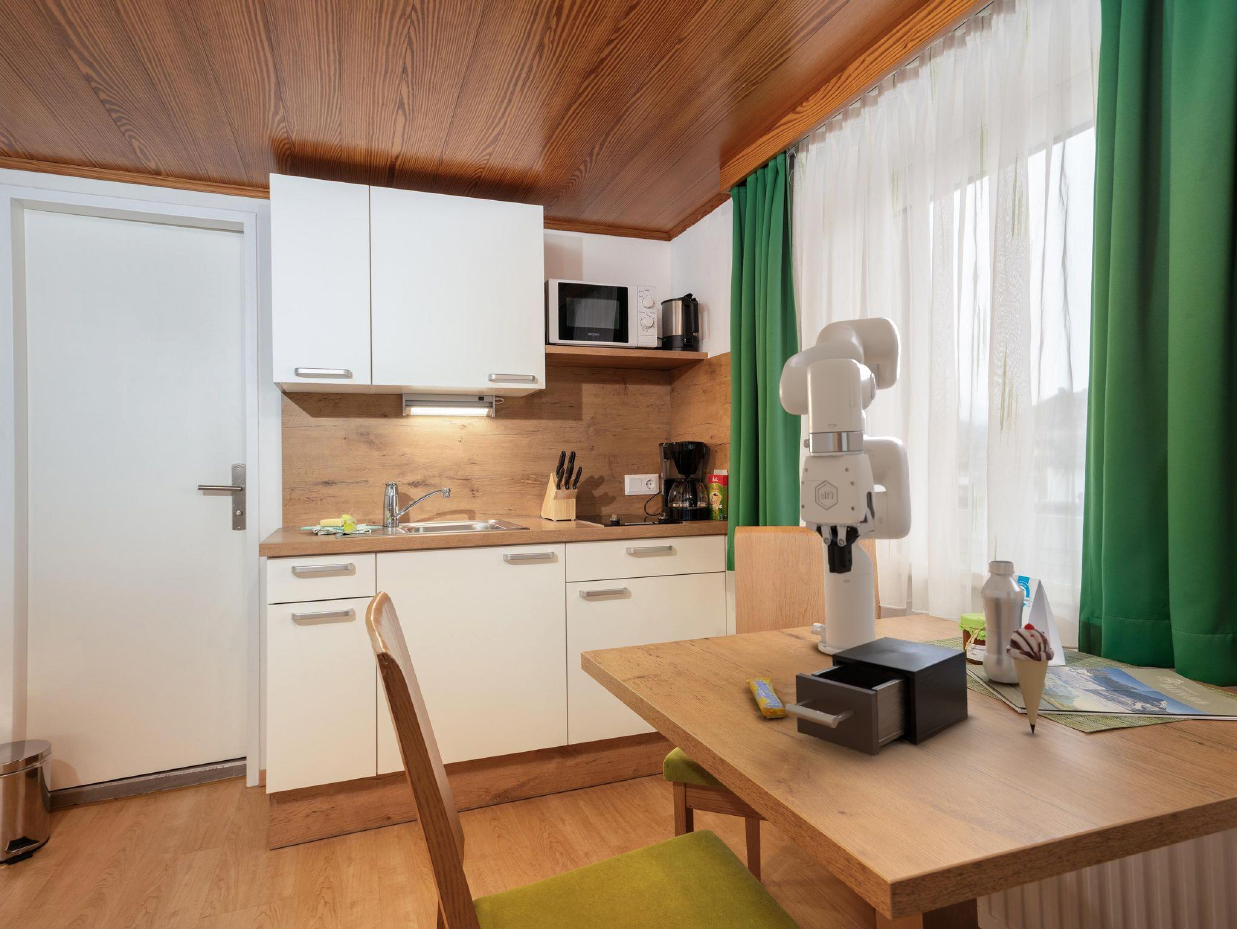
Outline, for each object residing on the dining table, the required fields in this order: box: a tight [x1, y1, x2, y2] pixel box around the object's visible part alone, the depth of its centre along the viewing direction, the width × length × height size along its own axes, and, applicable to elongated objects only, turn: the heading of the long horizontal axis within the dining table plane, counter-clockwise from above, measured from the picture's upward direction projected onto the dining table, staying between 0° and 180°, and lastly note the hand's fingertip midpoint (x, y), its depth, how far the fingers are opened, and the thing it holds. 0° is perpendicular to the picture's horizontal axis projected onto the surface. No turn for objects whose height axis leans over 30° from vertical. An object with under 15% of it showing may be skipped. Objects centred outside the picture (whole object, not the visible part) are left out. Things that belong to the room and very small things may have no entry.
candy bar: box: [745, 676, 789, 719], centre depth 111 cm, size 17×4×2 cm, turn 178°
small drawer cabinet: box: [831, 636, 969, 745], centre depth 102 cm, size 15×13×10 cm
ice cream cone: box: [1006, 623, 1055, 735], centre depth 95 cm, size 6×6×15 cm
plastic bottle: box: [980, 560, 1025, 684], centre depth 117 cm, size 6×7×20 cm
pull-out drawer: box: [784, 662, 911, 758], centre depth 94 cm, size 19×11×8 cm, turn 129°
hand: (840, 571), depth 101 cm, fingers closed
